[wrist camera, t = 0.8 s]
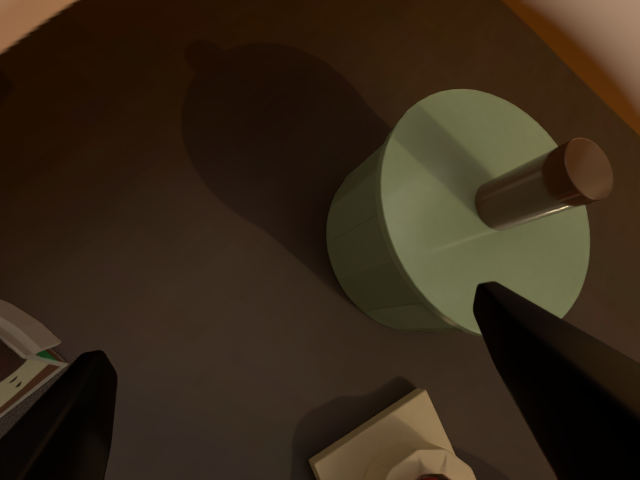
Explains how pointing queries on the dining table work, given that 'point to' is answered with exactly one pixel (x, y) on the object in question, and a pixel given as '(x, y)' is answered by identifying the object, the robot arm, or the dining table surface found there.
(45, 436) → the robot arm
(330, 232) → the jar
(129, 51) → the dining table surface
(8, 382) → the food container
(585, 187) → the lid
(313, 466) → the box
